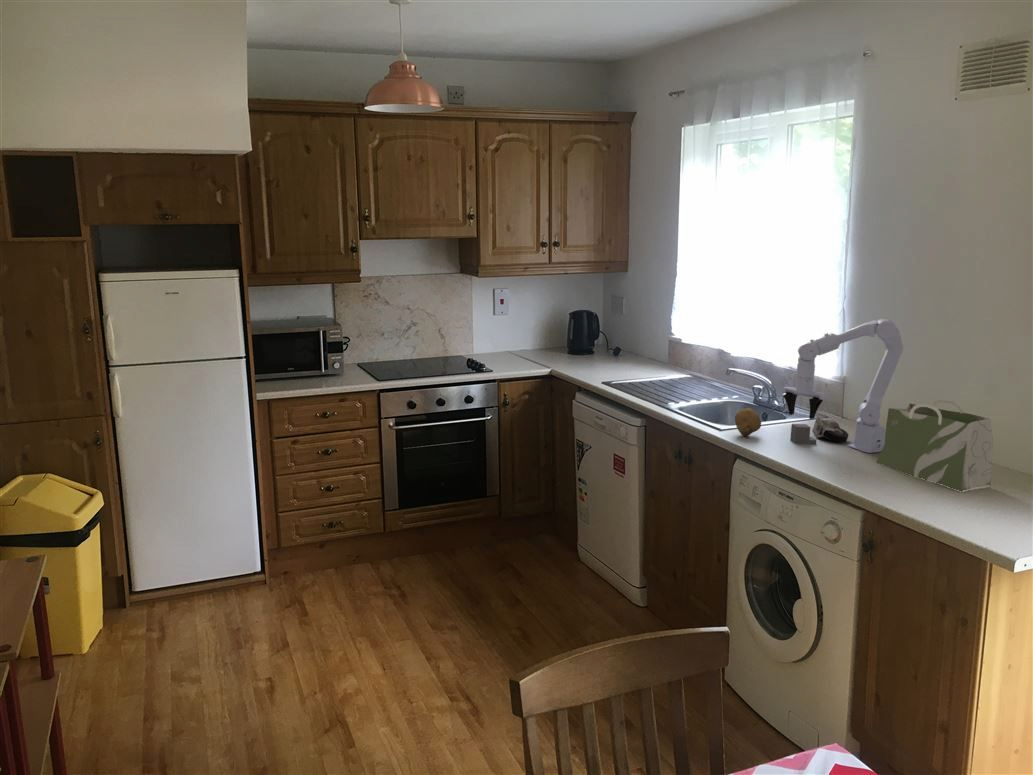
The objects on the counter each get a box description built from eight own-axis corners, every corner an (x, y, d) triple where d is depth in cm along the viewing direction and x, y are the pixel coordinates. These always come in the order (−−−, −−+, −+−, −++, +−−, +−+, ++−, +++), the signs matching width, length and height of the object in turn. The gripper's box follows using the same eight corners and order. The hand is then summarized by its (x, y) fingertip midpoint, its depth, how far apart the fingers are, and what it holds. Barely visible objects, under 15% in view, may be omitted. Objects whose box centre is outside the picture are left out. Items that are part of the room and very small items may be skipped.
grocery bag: (872, 463, 277) (880, 392, 272) (904, 458, 283) (912, 389, 278) (959, 493, 249) (970, 414, 244) (993, 488, 254) (1003, 411, 250)
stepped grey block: (816, 444, 298) (817, 427, 296) (794, 444, 298) (795, 427, 296) (811, 441, 302) (813, 424, 301) (790, 440, 302) (791, 423, 301)
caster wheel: (847, 450, 301) (819, 445, 300) (837, 435, 311) (810, 430, 311) (853, 433, 298) (825, 428, 298) (843, 419, 309) (816, 414, 308)
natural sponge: (757, 433, 310) (760, 406, 308) (762, 439, 302) (764, 411, 300) (731, 432, 311) (734, 405, 309) (735, 438, 303) (737, 410, 301)
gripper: (830, 379, 293) (827, 418, 296) (791, 373, 303) (788, 410, 306) (820, 381, 288) (816, 421, 291) (781, 375, 298) (777, 413, 301)
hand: (801, 416), depth 298 cm, fingers open, 7 cm apart
